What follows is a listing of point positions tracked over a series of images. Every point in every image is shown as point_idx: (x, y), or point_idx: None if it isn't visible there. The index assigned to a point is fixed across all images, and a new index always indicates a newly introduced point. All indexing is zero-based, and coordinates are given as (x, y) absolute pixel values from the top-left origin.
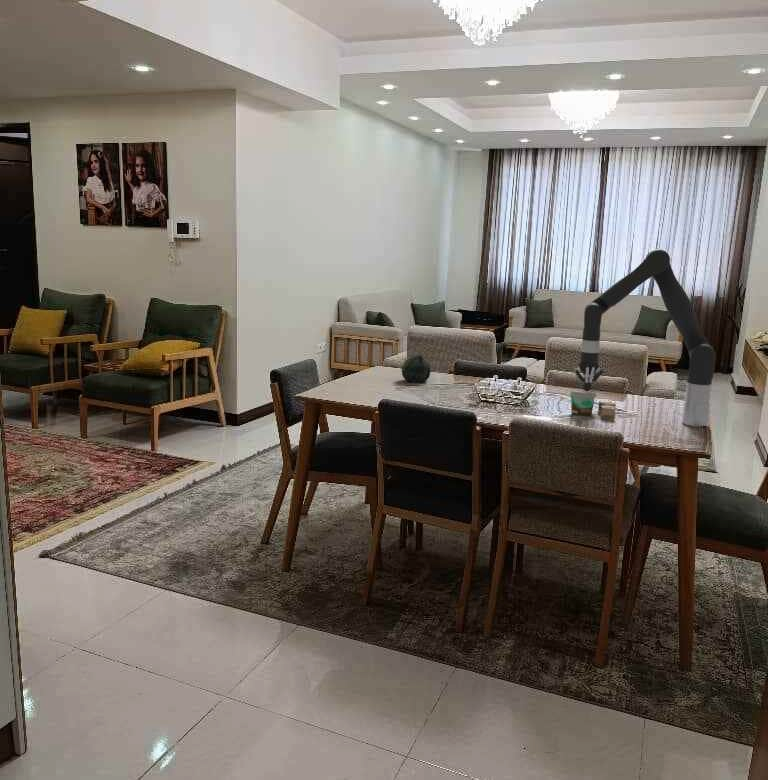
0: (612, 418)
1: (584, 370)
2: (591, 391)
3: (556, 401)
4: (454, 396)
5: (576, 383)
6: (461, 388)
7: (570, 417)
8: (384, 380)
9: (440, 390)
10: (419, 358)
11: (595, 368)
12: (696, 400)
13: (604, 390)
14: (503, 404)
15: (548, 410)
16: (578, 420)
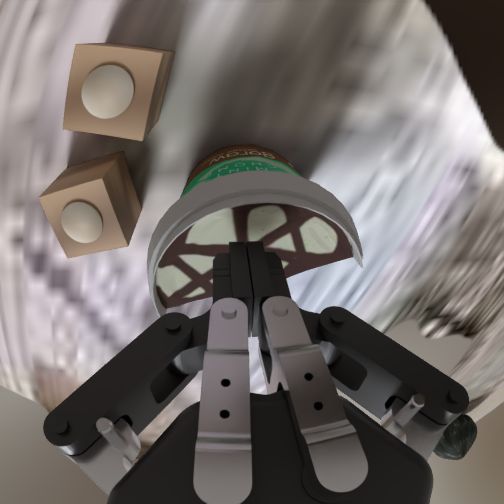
0: (111, 43)
1: (357, 434)
2: (172, 305)
3: None
4: (484, 358)
5: None
6: None
7: (349, 108)
8: (479, 409)
9: (466, 388)
10: (465, 451)
11: (167, 483)
12: None
13: None
14: (456, 313)
15: (378, 248)
16: (335, 38)
